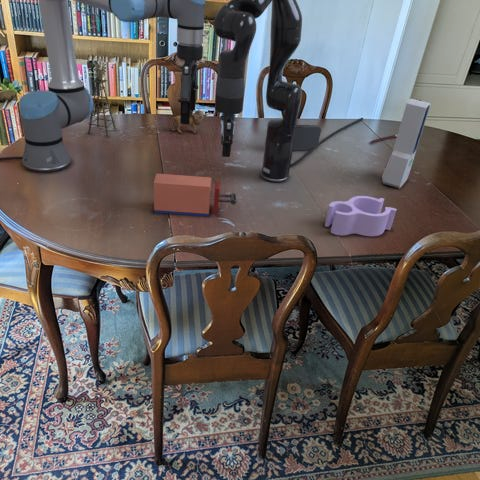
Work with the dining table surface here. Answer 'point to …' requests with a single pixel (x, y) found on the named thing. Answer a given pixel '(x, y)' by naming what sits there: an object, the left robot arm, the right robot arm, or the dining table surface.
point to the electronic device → (406, 143)
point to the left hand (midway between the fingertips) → (188, 116)
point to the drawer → (217, 195)
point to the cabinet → (182, 194)
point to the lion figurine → (194, 120)
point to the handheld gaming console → (306, 137)
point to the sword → (383, 138)
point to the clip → (359, 216)
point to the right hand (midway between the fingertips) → (225, 150)
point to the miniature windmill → (99, 80)
